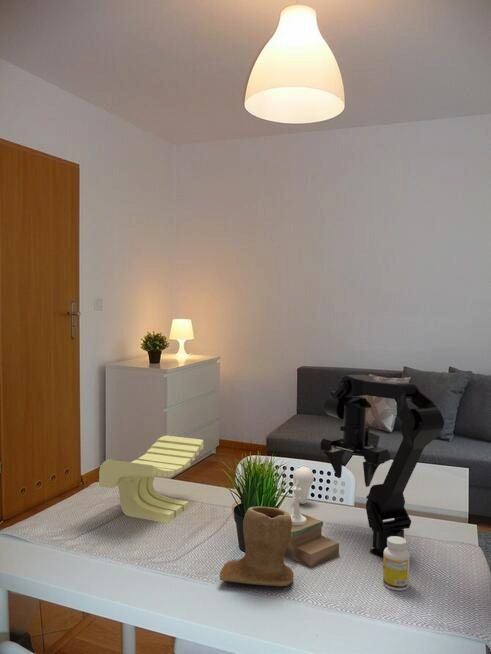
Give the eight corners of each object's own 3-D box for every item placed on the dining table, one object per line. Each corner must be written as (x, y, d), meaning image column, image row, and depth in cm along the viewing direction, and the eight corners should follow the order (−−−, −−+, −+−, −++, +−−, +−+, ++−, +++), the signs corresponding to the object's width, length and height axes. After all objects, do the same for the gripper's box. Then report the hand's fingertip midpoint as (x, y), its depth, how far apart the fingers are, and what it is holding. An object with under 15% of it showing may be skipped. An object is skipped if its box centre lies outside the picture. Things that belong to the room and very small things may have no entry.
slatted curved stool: (156, 490, 179) (157, 434, 178) (202, 497, 173) (203, 439, 172) (98, 524, 151) (99, 458, 150) (151, 534, 145) (152, 465, 144)
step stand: (338, 555, 135) (339, 528, 135) (309, 567, 128) (309, 539, 128) (298, 537, 145) (299, 512, 144) (269, 548, 138) (269, 522, 138)
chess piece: (283, 522, 137) (283, 481, 137) (291, 516, 142) (292, 476, 141) (302, 526, 135) (303, 485, 135) (309, 520, 139) (310, 479, 139)
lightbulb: (312, 508, 166) (313, 470, 165) (291, 506, 167) (292, 469, 167) (314, 501, 172) (314, 465, 171) (293, 499, 173) (294, 463, 172)
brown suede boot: (295, 568, 128) (296, 502, 127) (291, 595, 116) (293, 522, 115) (228, 562, 130) (230, 497, 130) (218, 588, 118) (219, 517, 118)
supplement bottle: (389, 576, 125) (390, 532, 124) (413, 584, 121) (414, 539, 121) (378, 585, 121) (379, 540, 120) (402, 594, 117) (403, 547, 117)
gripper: (403, 425, 147) (401, 484, 147) (345, 413, 161) (344, 468, 161) (377, 430, 139) (375, 493, 140) (319, 418, 153) (318, 475, 154)
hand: (353, 482), depth 149 cm, fingers open, 9 cm apart
